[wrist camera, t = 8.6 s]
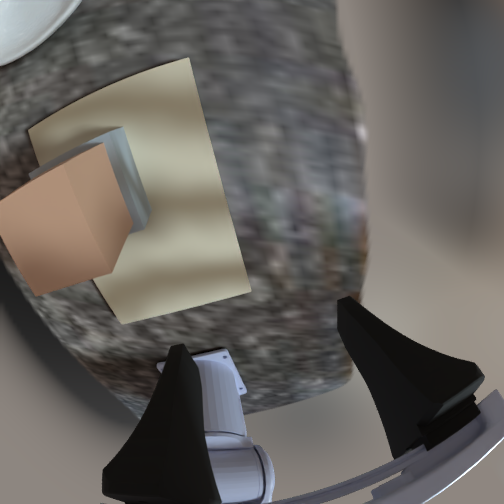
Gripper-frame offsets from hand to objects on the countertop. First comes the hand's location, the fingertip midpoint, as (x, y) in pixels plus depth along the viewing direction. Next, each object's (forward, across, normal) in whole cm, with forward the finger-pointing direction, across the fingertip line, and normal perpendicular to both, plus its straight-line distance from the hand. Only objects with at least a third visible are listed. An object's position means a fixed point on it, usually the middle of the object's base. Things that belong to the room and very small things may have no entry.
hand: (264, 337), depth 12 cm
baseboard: (+10, +6, -4) cm, 13 cm away
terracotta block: (+6, +8, -7) cm, 12 cm away
